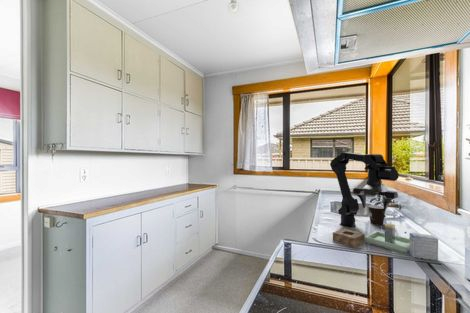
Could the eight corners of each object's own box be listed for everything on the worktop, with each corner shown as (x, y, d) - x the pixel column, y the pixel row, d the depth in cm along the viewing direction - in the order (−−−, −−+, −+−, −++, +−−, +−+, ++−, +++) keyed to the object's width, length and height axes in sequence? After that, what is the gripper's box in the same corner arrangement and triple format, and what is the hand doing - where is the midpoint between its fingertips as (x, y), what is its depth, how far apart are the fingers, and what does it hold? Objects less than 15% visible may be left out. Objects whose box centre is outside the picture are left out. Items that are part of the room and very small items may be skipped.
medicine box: (432, 256, 91) (432, 234, 91) (438, 261, 86) (438, 238, 86) (409, 253, 93) (409, 232, 93) (413, 258, 89) (413, 236, 89)
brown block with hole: (332, 240, 107) (332, 232, 107) (342, 236, 113) (343, 228, 113) (354, 247, 99) (354, 238, 99) (364, 242, 105) (364, 233, 105)
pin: (384, 241, 103) (384, 224, 103) (387, 240, 105) (387, 223, 105) (392, 244, 101) (392, 226, 101) (394, 242, 103) (394, 224, 103)
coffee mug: (368, 220, 140) (368, 204, 140) (384, 223, 135) (384, 206, 135) (368, 225, 129) (368, 208, 129) (386, 228, 125) (386, 210, 125)
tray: (364, 242, 105) (364, 236, 105) (376, 235, 114) (376, 230, 114) (406, 254, 93) (406, 247, 92) (415, 245, 101) (415, 240, 101)
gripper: (348, 178, 117) (347, 208, 117) (390, 181, 102) (389, 216, 102) (357, 177, 123) (357, 205, 124) (398, 180, 109) (398, 212, 109)
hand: (374, 209), depth 114 cm, fingers open, 9 cm apart
